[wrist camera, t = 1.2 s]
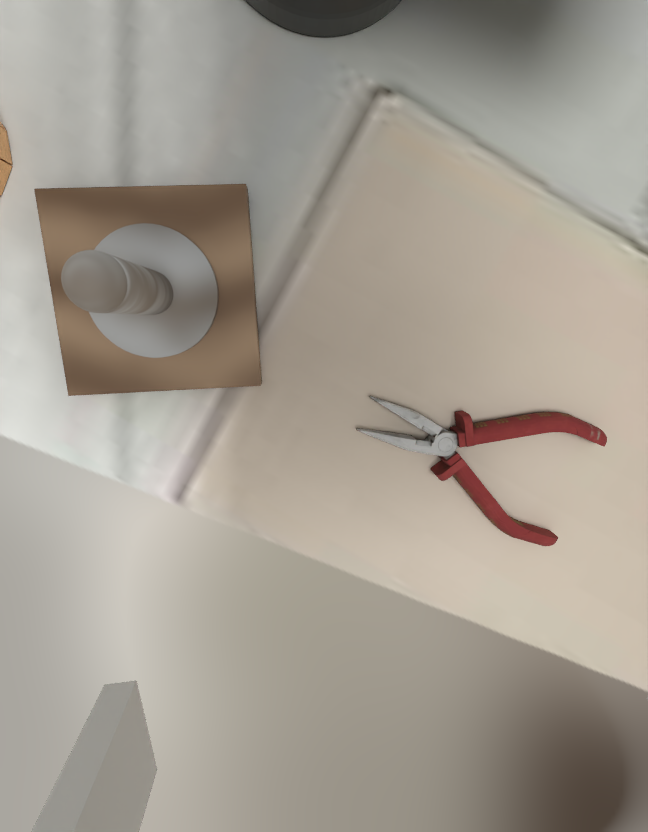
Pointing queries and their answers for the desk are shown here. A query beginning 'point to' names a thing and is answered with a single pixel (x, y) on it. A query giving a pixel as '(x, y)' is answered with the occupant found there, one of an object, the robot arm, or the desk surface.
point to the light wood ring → (4, 158)
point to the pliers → (480, 433)
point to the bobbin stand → (152, 286)
